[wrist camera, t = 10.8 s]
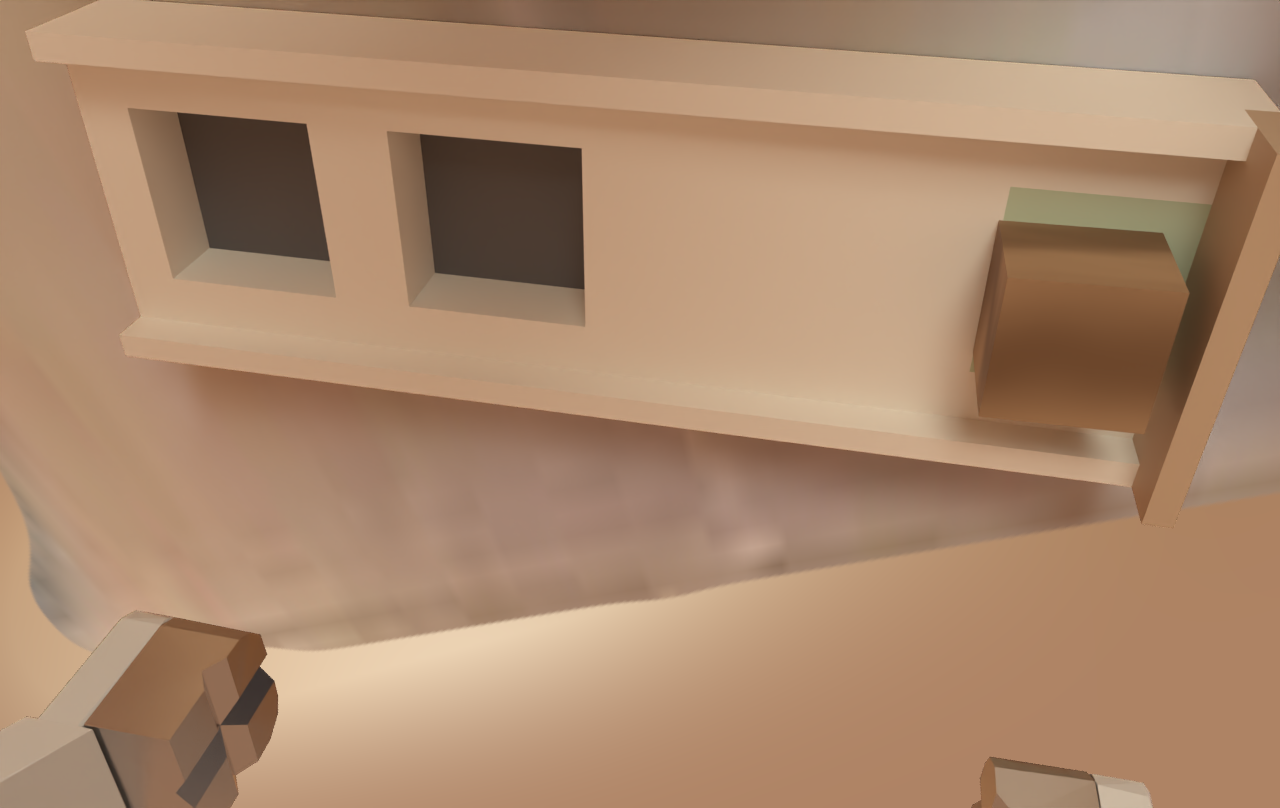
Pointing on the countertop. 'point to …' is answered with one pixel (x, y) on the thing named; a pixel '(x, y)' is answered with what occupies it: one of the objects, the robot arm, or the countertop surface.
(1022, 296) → the walnut block
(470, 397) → the trap track
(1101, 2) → the countertop surface
